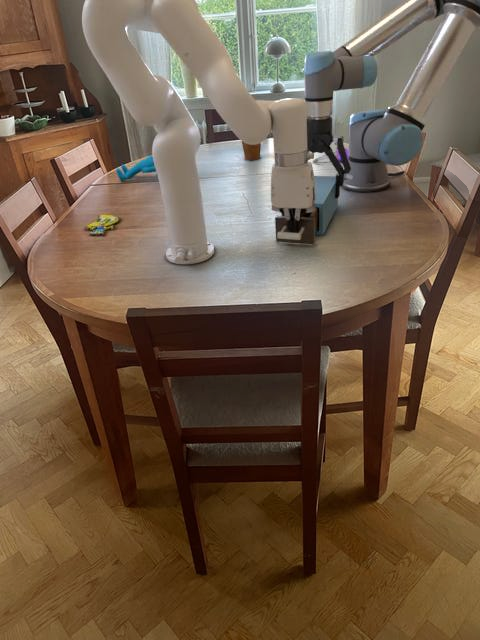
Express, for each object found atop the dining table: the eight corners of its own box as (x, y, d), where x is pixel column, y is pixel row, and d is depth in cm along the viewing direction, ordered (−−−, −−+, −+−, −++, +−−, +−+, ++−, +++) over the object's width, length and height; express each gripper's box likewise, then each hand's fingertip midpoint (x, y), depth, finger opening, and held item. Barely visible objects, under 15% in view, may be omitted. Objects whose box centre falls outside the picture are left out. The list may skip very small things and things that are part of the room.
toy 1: (75, 232, 142) (99, 213, 154) (76, 234, 142) (100, 215, 154) (106, 232, 139) (128, 213, 151) (107, 235, 140) (128, 216, 152)
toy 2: (125, 157, 192) (192, 136, 181) (136, 182, 197) (202, 163, 186) (107, 170, 178) (179, 147, 168) (120, 197, 183) (190, 177, 173)
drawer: (308, 255, 118) (308, 229, 114) (269, 251, 121) (268, 226, 117) (329, 214, 137) (330, 190, 133) (295, 212, 140) (295, 189, 137)
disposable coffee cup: (238, 160, 197) (235, 130, 191) (244, 154, 205) (242, 125, 198) (260, 160, 194) (258, 129, 188) (266, 154, 202) (264, 124, 195)
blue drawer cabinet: (322, 235, 128) (323, 203, 123) (282, 232, 132) (281, 201, 127) (337, 205, 144) (338, 176, 139) (301, 203, 148) (300, 175, 143)
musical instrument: (326, 170, 180) (372, 154, 183) (325, 164, 178) (371, 148, 182) (297, 161, 200) (339, 146, 204) (296, 155, 199) (338, 141, 202)
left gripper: (327, 153, 110) (327, 228, 119) (264, 154, 115) (270, 226, 125) (320, 162, 104) (321, 241, 114) (254, 163, 109) (261, 238, 119)
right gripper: (364, 113, 129) (359, 193, 141) (280, 114, 137) (282, 190, 148) (360, 119, 123) (355, 202, 135) (272, 119, 131) (274, 197, 143)
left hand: (294, 233), depth 119 cm, fingers closed
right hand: (316, 195), depth 142 cm, fingers closed on blue drawer cabinet, 11 cm apart
